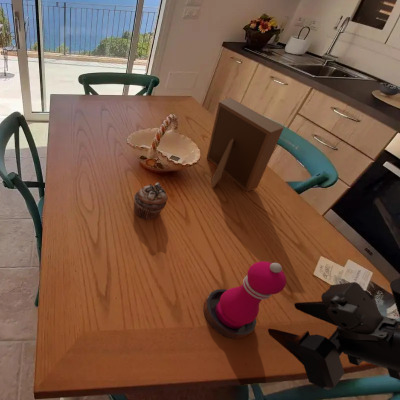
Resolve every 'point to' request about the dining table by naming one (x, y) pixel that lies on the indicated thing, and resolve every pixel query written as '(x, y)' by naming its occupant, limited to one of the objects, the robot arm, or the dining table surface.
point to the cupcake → (150, 201)
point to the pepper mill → (250, 294)
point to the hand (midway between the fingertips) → (282, 318)
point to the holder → (217, 324)
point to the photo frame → (241, 144)
